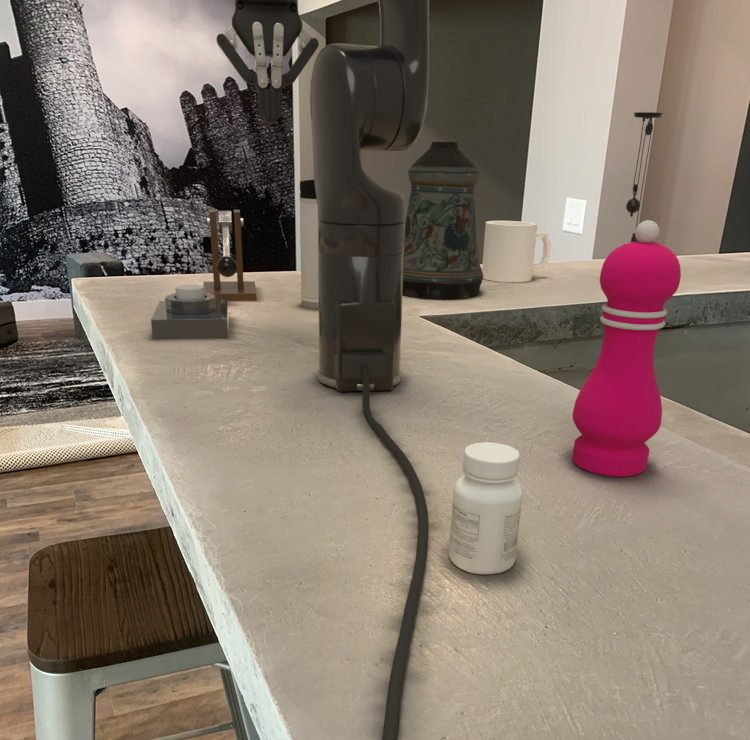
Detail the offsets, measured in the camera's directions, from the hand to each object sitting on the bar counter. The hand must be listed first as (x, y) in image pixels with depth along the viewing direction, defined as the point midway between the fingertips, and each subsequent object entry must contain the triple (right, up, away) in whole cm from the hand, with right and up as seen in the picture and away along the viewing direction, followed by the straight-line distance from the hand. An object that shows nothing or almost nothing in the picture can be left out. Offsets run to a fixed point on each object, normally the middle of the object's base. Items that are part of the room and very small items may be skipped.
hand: (270, 122), depth 97 cm
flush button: (-13, -20, +11) cm, 26 cm away
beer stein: (+24, -9, +45) cm, 52 cm away
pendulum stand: (-12, -12, +36) cm, 40 cm away
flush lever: (-11, -7, +29) cm, 32 cm away
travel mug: (+4, -16, +29) cm, 33 cm away
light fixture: (+70, +3, +72) cm, 100 cm away
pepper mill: (+34, -45, -31) cm, 64 cm away
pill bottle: (+20, -52, -47) cm, 73 cm away
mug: (+41, -3, +60) cm, 73 cm away
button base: (-13, -24, +12) cm, 29 cm away
